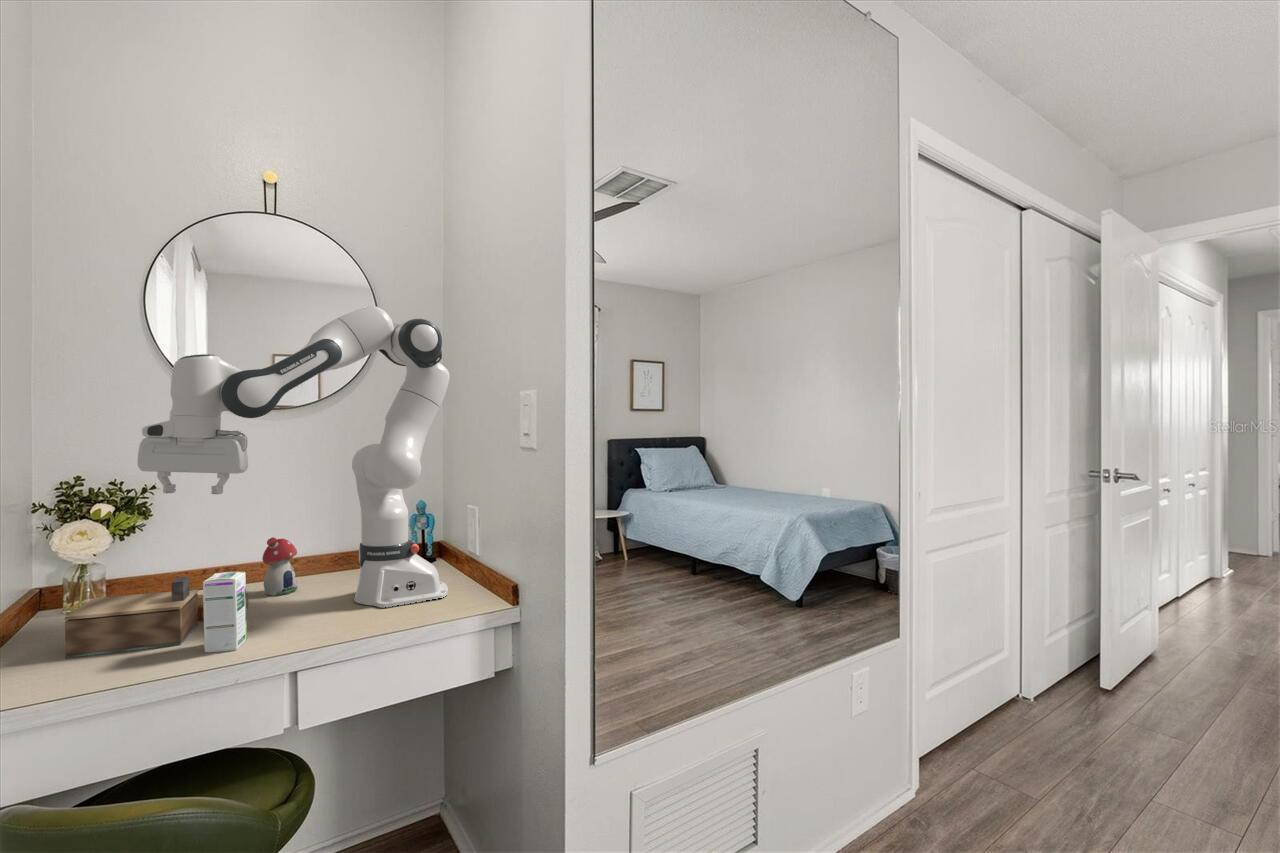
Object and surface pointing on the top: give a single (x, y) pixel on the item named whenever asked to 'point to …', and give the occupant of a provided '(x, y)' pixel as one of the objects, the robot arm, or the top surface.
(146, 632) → the walnut box
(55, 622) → the top surface
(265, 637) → the top surface
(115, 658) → the top surface
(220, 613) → the syrup box
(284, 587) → the decorative ornament
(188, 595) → the lid
